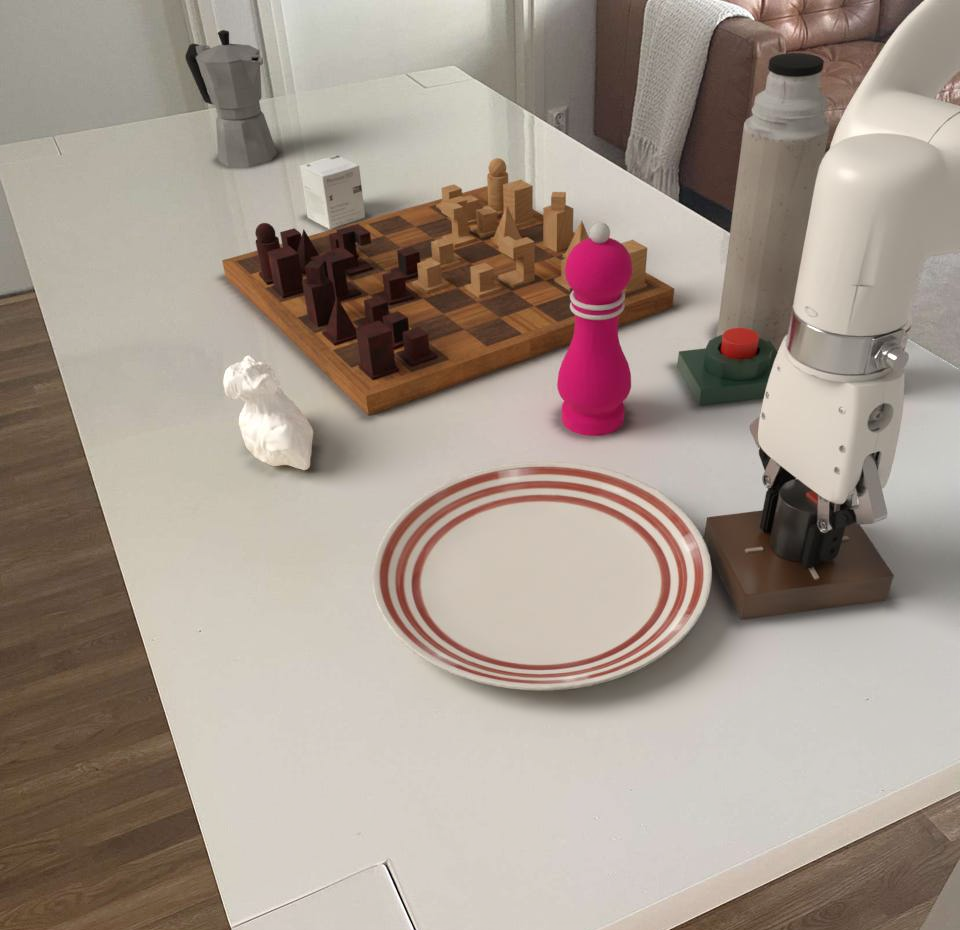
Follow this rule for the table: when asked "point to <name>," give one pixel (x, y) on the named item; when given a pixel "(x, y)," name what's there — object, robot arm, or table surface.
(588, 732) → the table surface
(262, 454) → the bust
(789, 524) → the knob
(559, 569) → the dinner plate
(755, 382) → the housing
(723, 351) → the button
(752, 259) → the thermos bottle
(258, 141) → the coffeepot
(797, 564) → the panel
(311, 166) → the white cardboard box
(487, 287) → the gameboard
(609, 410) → the pepper mill
